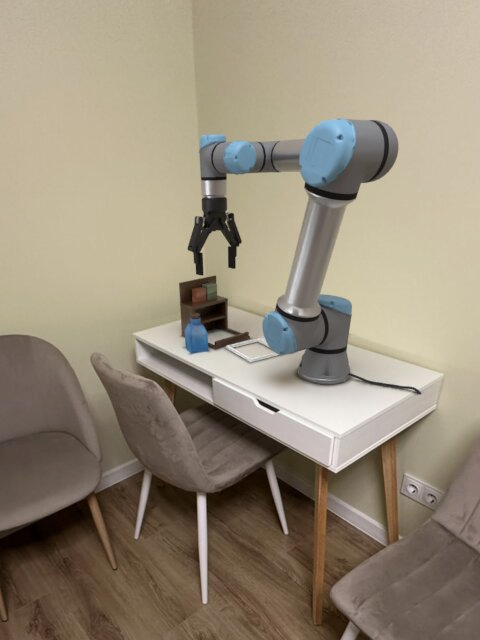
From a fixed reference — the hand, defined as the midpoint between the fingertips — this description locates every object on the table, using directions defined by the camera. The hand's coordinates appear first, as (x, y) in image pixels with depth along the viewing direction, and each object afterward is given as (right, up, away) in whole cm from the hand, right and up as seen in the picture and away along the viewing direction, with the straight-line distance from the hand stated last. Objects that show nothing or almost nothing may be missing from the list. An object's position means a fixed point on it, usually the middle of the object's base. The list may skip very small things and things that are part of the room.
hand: (216, 271), depth 149 cm
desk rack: (-1, -16, +22) cm, 27 cm away
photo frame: (+15, -23, +10) cm, 29 cm away
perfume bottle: (-7, -23, +12) cm, 26 cm away
